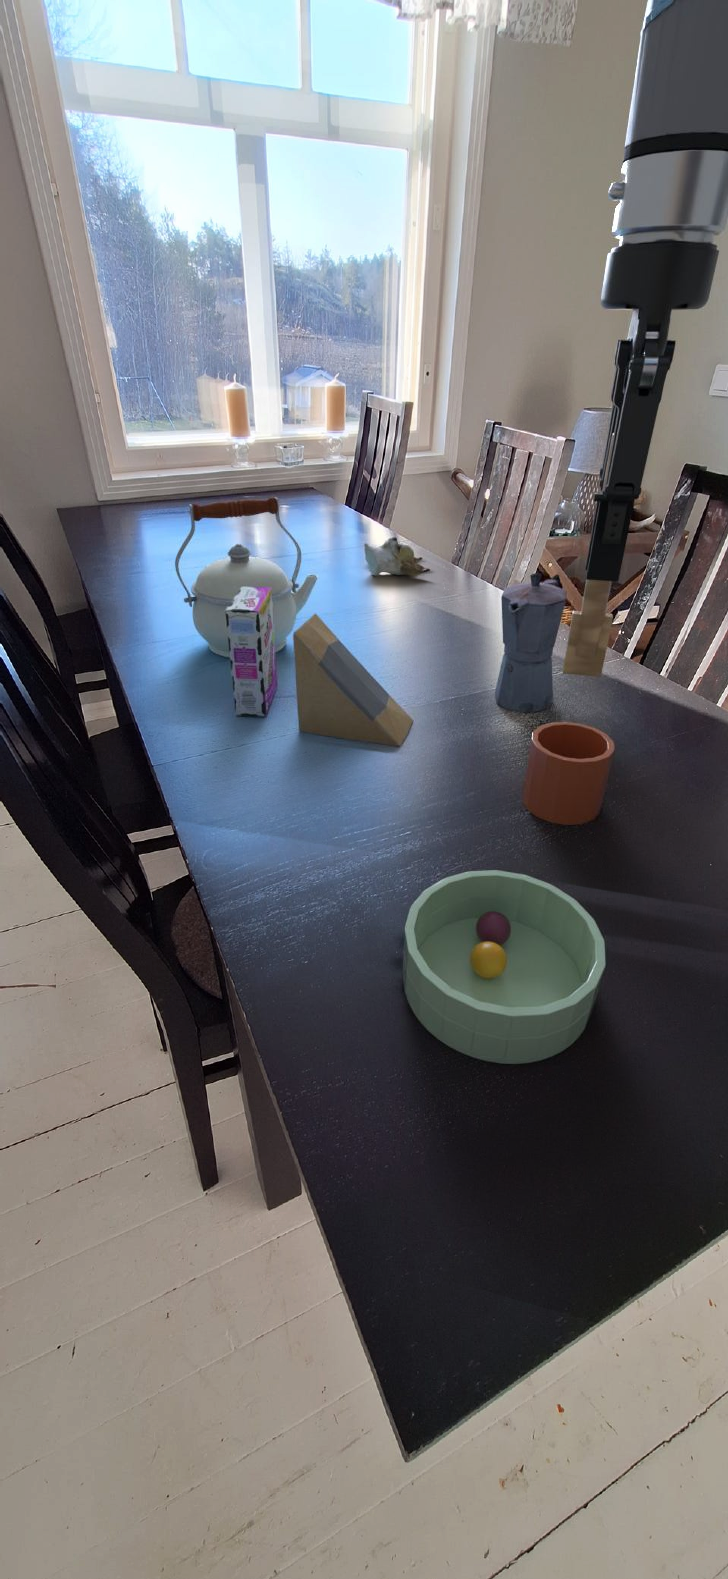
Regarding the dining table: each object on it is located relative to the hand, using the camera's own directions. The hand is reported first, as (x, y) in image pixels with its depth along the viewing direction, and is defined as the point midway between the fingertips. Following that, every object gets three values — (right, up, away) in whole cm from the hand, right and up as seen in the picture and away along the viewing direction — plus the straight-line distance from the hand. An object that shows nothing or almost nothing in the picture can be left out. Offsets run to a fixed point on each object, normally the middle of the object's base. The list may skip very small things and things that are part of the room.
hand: (601, 574), depth 62 cm
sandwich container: (-22, -10, +39) cm, 46 cm away
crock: (+2, -22, +21) cm, 31 cm away
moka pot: (+4, -5, +47) cm, 47 cm away
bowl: (-10, -37, 0) cm, 38 cm away
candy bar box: (-38, -6, +46) cm, 60 cm away
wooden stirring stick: (0, -8, +5) cm, 10 cm away
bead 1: (-9, -32, +2) cm, 34 cm away
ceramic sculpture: (-14, +31, +101) cm, 106 cm away
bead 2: (-10, -35, -1) cm, 36 cm away
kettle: (-41, +7, +65) cm, 78 cm away
